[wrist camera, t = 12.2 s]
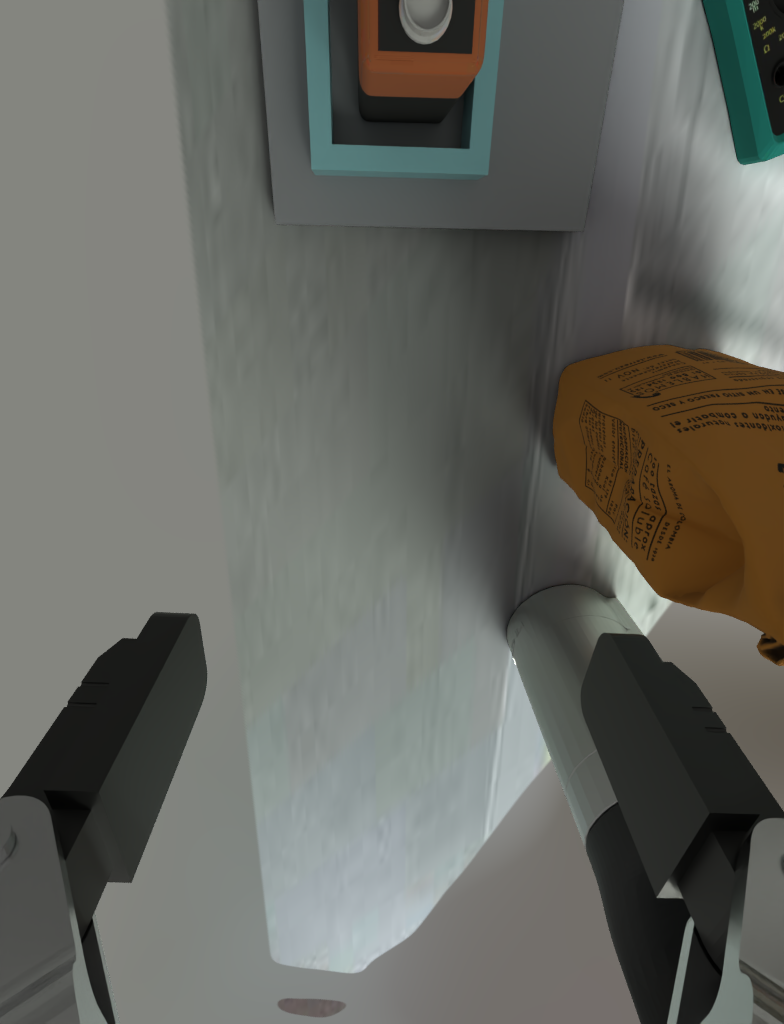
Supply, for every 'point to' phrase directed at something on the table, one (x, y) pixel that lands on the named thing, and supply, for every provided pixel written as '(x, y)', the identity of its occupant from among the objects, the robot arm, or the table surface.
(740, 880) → the robot arm
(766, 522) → the coffee package
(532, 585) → the table surface
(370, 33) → the battery
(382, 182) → the plate
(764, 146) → the digital multimeter
